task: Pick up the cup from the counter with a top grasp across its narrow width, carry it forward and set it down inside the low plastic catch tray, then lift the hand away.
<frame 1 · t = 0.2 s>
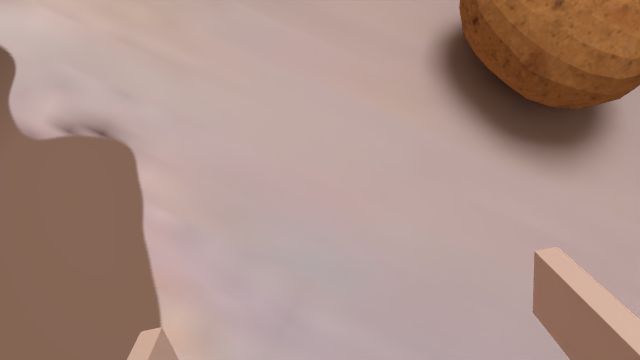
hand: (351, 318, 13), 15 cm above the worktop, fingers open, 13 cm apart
potato: (520, 60, 31), on the worktop
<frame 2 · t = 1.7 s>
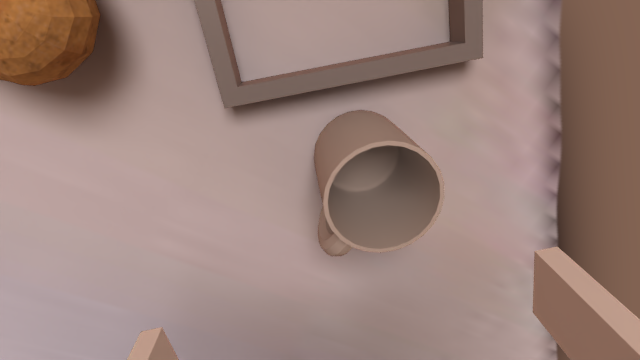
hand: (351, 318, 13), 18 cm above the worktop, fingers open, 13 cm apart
cup: (348, 166, 31), on the worktop
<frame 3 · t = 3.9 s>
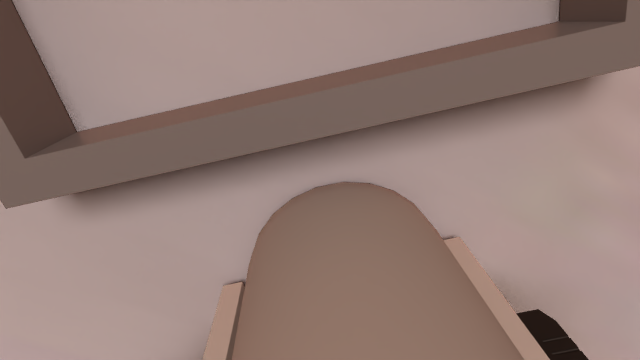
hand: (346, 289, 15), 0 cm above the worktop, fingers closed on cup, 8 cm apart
cup: (327, 284, 15), on the worktop, touching gripper
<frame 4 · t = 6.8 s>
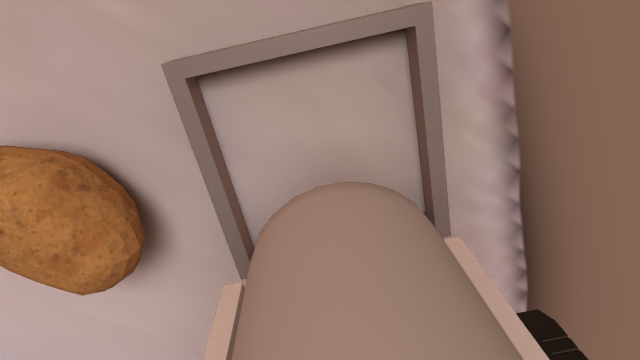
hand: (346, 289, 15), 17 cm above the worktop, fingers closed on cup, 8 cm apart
cup: (328, 283, 15), point 16 cm above the worktop, touching gripper
potato: (80, 189, 31), on the worktop
catch tray: (321, 149, 30), on the worktop
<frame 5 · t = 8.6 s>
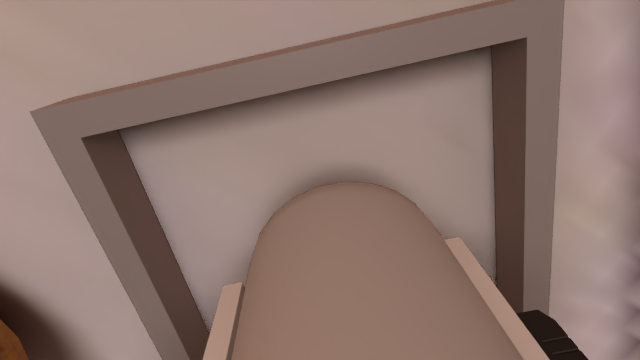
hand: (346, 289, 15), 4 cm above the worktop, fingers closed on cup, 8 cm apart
cup: (328, 283, 15), point 3 cm above the worktop, touching gripper
catch tray: (335, 238, 18), on the worktop
when the fingers open (2 cm above the worktop, at t = 9.8 s): cup drops 2 cm, resting in catch tray.
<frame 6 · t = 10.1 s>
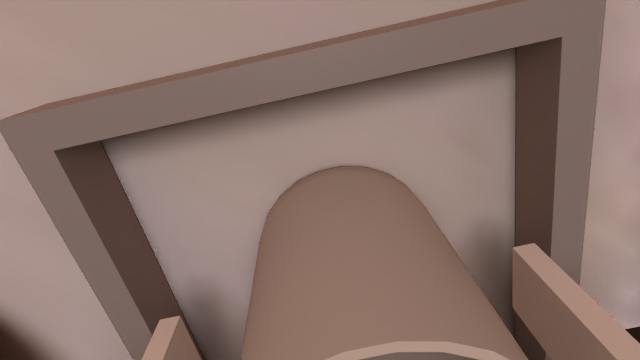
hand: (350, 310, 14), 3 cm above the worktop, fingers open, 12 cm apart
cup: (330, 260, 17), resting in catch tray
catch tray: (340, 256, 17), on the worktop
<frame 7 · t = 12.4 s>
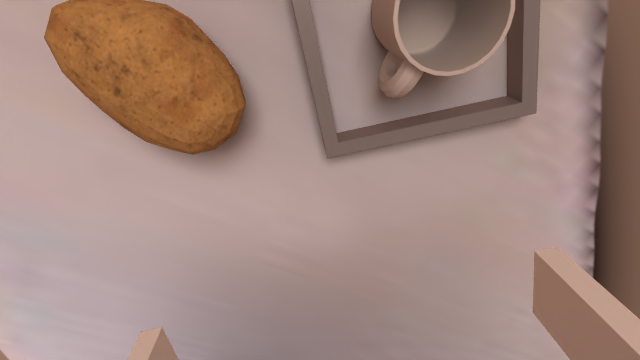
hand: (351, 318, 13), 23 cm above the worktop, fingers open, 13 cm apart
cup: (404, 27, 31), resting in catch tray
potato: (173, 66, 31), on the worktop
catch tray: (411, 23, 30), on the worktop
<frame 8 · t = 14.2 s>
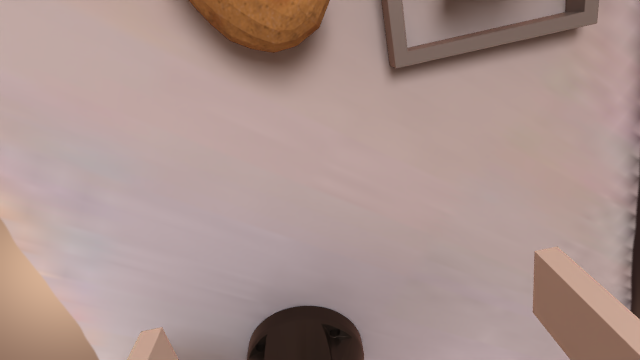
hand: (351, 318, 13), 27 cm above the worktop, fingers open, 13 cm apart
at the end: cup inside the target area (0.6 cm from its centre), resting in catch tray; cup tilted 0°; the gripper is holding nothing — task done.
